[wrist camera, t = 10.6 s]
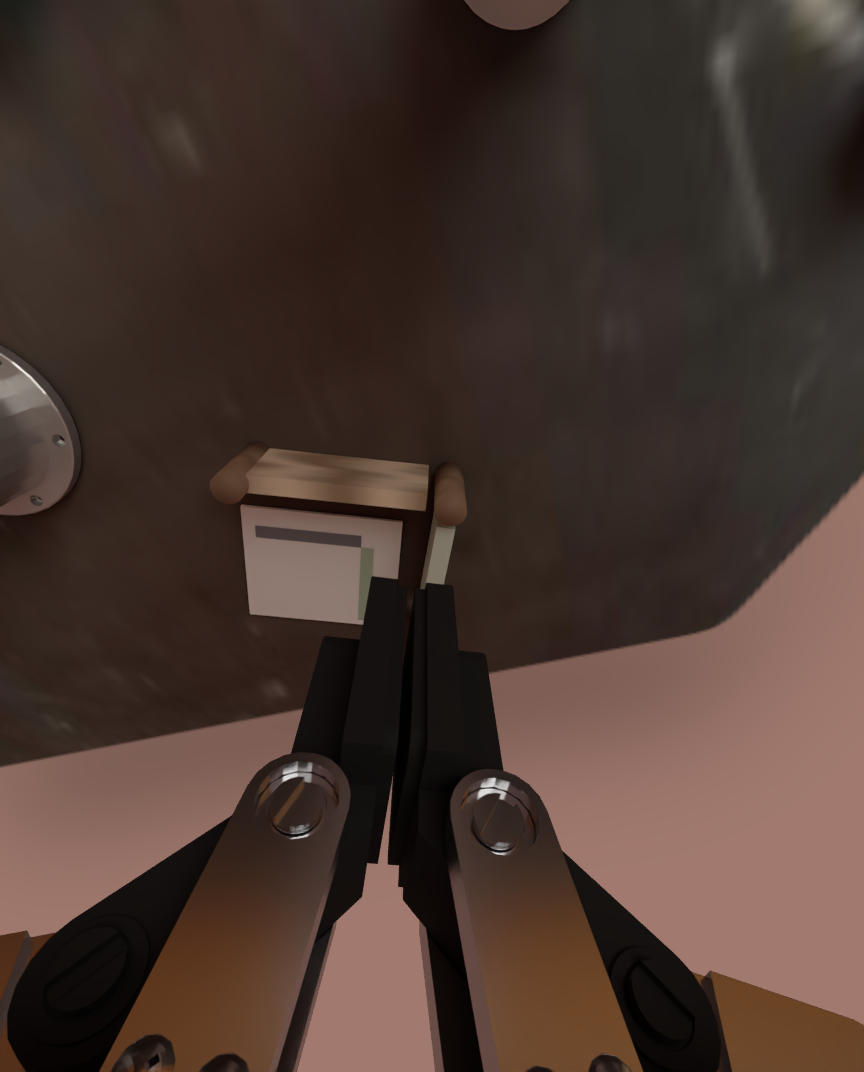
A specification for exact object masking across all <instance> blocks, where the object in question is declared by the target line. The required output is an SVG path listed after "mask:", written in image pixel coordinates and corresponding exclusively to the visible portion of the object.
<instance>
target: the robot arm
mask: <svg viewBox="0 0 864 1072" xmlns="http://www.w3.org/2000/svg"><path fill="white" fill-rule="evenodd" d="M80 468H81V446H80V441H79V435H78V432H77V429H76V427H75V424H74V422H73V419H72V417H71V415H70V413H69V411H68V410H67V408H66V406H65V405H64V403H63V401H62V399H61V398H60V397H59V395H58V394H57V393H56V392H55V390H54V389H53V388H52V387H51V385H50V384H49V383H48V382H47V381H46V380H45V379H44V378H43V377H42V376H41V375H40V374H39V373H38V372H37V371H36V370H35V369H34V368H33V367H32V366H31V365H29V364H28V363H26V362H25V361H24V360H22V359H21V358H20V357H18V356H17V355H16V354H14V353H13V352H11V351H9V350H8V349H6V348H4V347H2V346H0V515H17V516H21V515H27V514H33V513H37V512H39V511H42V510H44V509H47V508H49V507H51V506H52V505H54V504H55V503H57V502H59V501H60V500H62V499H63V498H64V497H65V496H66V495H67V494H68V493H69V492H70V491H71V490H72V488H73V486H74V484H75V483H76V481H77V479H78V476H79V472H80ZM397 582H398V579H392V578H384V577H375V576H372V577H371V581H370V587H369V593H368V598H367V604H366V610H365V615H364V621H363V627H362V632H361V638H360V640H356V639H347V638H338V637H329V636H324V638H323V641H322V644H321V648H320V651H319V655H318V658H317V662H316V665H315V669H314V673H313V676H312V680H311V683H310V687H309V691H308V694H307V698H306V701H305V705H304V709H303V712H302V716H301V719H300V723H299V727H298V730H297V734H296V737H295V741H294V745H293V748H292V752H291V754H288V755H284V756H282V757H280V758H277V759H275V760H273V761H271V762H269V763H268V764H267V765H265V766H264V767H263V768H262V769H261V770H259V771H258V772H257V773H256V775H255V776H254V777H253V779H252V780H251V781H250V783H249V784H248V786H247V788H246V790H245V792H244V794H243V795H242V797H241V799H240V801H239V803H238V805H237V807H236V809H235V811H234V813H233V815H232V816H230V817H229V818H227V819H226V820H224V821H223V822H221V823H220V824H218V825H217V826H215V827H213V828H212V829H210V830H209V831H207V832H206V833H205V834H203V835H201V836H200V837H198V838H197V839H195V840H194V841H192V842H191V843H189V844H187V845H186V846H184V847H183V848H181V849H180V850H178V851H177V852H175V853H174V854H172V855H171V856H169V857H168V858H166V859H165V860H163V861H161V862H160V863H158V864H157V865H156V866H154V867H152V868H151V869H149V870H148V871H146V872H145V873H143V874H142V875H140V876H139V877H137V878H135V879H134V880H132V881H131V882H129V883H128V884H126V885H125V886H123V887H122V888H120V889H119V890H117V891H116V892H114V893H113V894H111V895H109V896H108V897H106V898H105V899H103V900H102V901H101V902H99V903H97V904H96V905H94V906H93V907H91V908H90V909H88V910H87V911H85V912H83V913H82V914H81V915H79V916H77V917H76V918H74V919H73V920H72V921H70V922H69V923H68V924H67V925H65V926H64V927H63V928H61V929H60V930H59V931H58V932H56V933H51V934H47V935H41V936H36V937H30V936H29V933H28V931H22V932H17V933H11V934H6V935H1V936H0V1072H297V1069H298V1065H299V1062H300V1058H301V1054H302V1050H303V1047H304V1043H305V1039H306V1036H307V1031H308V1028H309V1024H310V1021H311V1017H312V1013H313V1010H314V1006H315V1002H316V998H317V995H318V991H319V987H320V983H321V980H322V976H323V972H324V969H325V965H326V961H327V957H328V954H329V950H330V946H331V942H332V939H333V935H334V931H335V928H336V921H337V920H338V919H339V918H340V917H341V916H342V915H343V914H344V913H345V912H346V911H347V910H348V909H349V908H350V907H352V905H354V904H355V903H356V902H357V901H358V900H359V899H360V898H361V897H362V893H363V886H364V880H365V873H366V867H367V863H373V864H374V863H375V864H378V859H379V852H380V847H381V841H382V835H383V830H384V824H385V818H386V812H387V806H388V800H389V794H390V788H391V783H392V777H393V786H392V800H391V816H390V831H389V847H388V864H389V865H399V881H398V887H403V900H404V902H405V903H406V904H407V905H408V907H409V908H410V909H411V910H412V912H413V913H414V914H415V915H416V917H417V918H418V919H419V920H420V925H419V927H420V928H419V931H420V932H419V933H420V942H421V951H422V959H423V968H424V977H425V986H426V994H427V1002H428V1012H429V1021H430V1030H431V1038H432V1046H433V1056H434V1065H435V1072H864V1025H863V1024H861V1023H859V1022H857V1021H855V1020H853V1019H850V1018H847V1017H844V1016H842V1015H838V1014H836V1013H833V1012H830V1011H827V1010H824V1009H821V1008H818V1007H815V1006H812V1005H809V1004H806V1003H804V1002H800V1001H798V1000H795V999H792V998H789V997H786V996H783V995H780V994H777V993H774V992H771V991H768V990H765V989H762V988H759V987H757V986H754V985H751V984H748V983H745V982H742V981H739V980H736V979H733V978H730V977H727V976H724V975H721V974H718V973H716V972H712V971H709V972H708V974H707V975H706V976H702V975H700V974H696V973H694V972H691V971H690V970H689V969H688V968H687V967H686V965H684V963H683V962H682V961H681V960H680V959H679V958H678V957H677V956H676V955H675V954H674V953H673V952H672V951H671V950H670V949H669V948H668V947H667V946H665V945H664V944H663V943H662V942H661V941H660V940H659V939H658V938H657V937H656V936H655V935H653V934H652V933H651V932H650V931H649V930H648V929H647V928H646V927H645V926H644V925H643V924H641V923H640V922H639V921H638V920H637V919H636V918H635V917H634V916H633V915H632V914H631V913H629V912H628V911H627V910H626V909H625V908H624V907H623V906H622V905H621V904H620V903H619V902H617V901H616V900H615V899H614V898H613V897H612V896H611V895H610V894H609V893H607V891H606V890H604V889H603V888H602V887H601V886H600V885H599V884H598V883H597V882H596V881H595V880H593V879H592V878H591V877H590V876H589V875H588V874H587V873H586V872H585V871H584V870H583V869H582V868H580V867H579V866H578V865H577V864H576V863H575V862H574V861H573V860H572V859H571V858H570V857H568V856H567V855H566V854H565V853H564V852H563V851H562V850H561V847H560V844H559V842H558V839H557V836H556V833H555V831H554V828H553V826H552V823H551V820H550V817H549V814H548V812H547V809H546V808H545V806H544V804H543V802H542V800H541V798H540V796H539V795H538V794H537V793H536V792H535V791H534V790H533V789H532V787H530V785H529V784H527V783H526V782H525V781H523V780H522V779H520V778H519V777H517V776H516V775H513V774H511V773H508V772H505V771H503V766H502V759H501V753H500V745H499V739H498V733H497V726H496V719H495V713H494V706H493V699H492V693H491V687H490V680H489V673H488V667H487V661H486V656H485V655H484V653H477V652H468V651H459V650H458V640H457V628H456V616H455V604H454V592H453V586H452V585H443V584H435V583H426V586H425V589H417V588H415V592H414V598H413V605H412V611H411V617H410V623H409V630H408V636H407V642H406V649H405V655H404V661H403V651H404V634H405V618H406V601H407V587H400V586H397Z"/></svg>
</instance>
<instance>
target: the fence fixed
mask: <svg viewBox="0 0 864 1072" xmlns="http://www.w3.org/2000/svg"><path fill="white" fill-rule="evenodd" d="M428 474H429V465H423V464H413V463H404V462H394V461H385V460H375V459H366V458H356V457H347V456H337V455H328V454H319V453H309V452H300V451H290V450H281V449H271V448H269V447H268V446H267V445H266V444H264V443H262V442H251V443H249V444H248V445H247V446H246V447H245V448H244V449H243V450H242V451H241V452H239V453H238V454H237V455H236V456H235V457H234V458H233V459H232V460H231V461H230V462H229V463H228V464H227V465H226V466H225V467H223V468H222V469H221V470H220V471H219V472H218V473H217V474H216V475H215V476H214V477H213V478H212V479H211V481H210V491H211V493H212V495H213V496H214V497H215V498H216V499H217V500H218V501H220V502H222V503H225V504H235V503H237V502H239V501H240V500H241V499H242V498H243V496H244V495H245V494H246V493H253V494H263V495H272V496H282V497H292V498H302V499H312V500H321V501H331V502H341V503H351V504H360V505H370V506H380V507H390V508H400V509H409V510H419V511H426V502H427V492H428ZM434 515H435V518H436V520H437V521H438V522H439V523H440V524H442V525H444V526H450V527H451V526H456V525H459V524H460V523H462V522H463V521H464V519H465V518H466V515H467V507H466V497H465V488H464V479H463V472H462V469H461V468H460V466H459V465H457V464H456V463H453V462H445V463H443V464H441V465H440V466H439V467H438V468H437V469H436V472H435V496H434Z"/></svg>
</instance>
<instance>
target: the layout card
mask: <svg viewBox="0 0 864 1072" xmlns="http://www.w3.org/2000/svg"><path fill="white" fill-rule="evenodd" d="M240 508H241V519H242V531H243V542H244V554H245V565H246V576H247V588H248V599H249V610H250V614H254V615H265V616H276V617H287V618H297V619H308V620H319V621H330V622H340V623H351V624H362V625H363V621H364V615H365V610H366V604H367V598H368V593H369V587H370V581H371V577H372V576H375V577H384V578H392V579H398V570H399V559H400V548H401V536H402V525H403V521H402V520H392V519H382V518H372V517H362V516H352V515H342V514H333V513H323V512H313V511H303V510H293V509H283V508H273V507H263V506H254V505H244V504H242V505H241V506H240Z"/></svg>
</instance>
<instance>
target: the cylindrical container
mask: <svg viewBox="0 0 864 1072" xmlns="http://www.w3.org/2000/svg"><path fill="white" fill-rule="evenodd" d="M464 1H465V2H466V3H467V4H468V6H469V7H470V8H471V9H472V11H473V12H474V13H475V14H477V15H478V16H479V17H481V18H482V19H483V20H484V21H486V22H487V23H490V24H492V25H494V26H496V27H499V28H503V29H509V30H520V29H528V28H531V27H534V26H536V25H539V24H541V23H543V22H545V21H546V20H548V19H549V18H551V17H552V16H554V15H555V14H556V13H557V12H558V11H559V10H560V9H562V8H563V7H564V6H565V5H566V4H567V3H568V2H569V0H464Z"/></svg>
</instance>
